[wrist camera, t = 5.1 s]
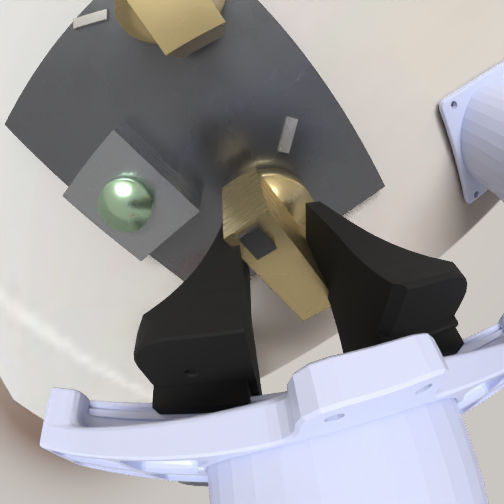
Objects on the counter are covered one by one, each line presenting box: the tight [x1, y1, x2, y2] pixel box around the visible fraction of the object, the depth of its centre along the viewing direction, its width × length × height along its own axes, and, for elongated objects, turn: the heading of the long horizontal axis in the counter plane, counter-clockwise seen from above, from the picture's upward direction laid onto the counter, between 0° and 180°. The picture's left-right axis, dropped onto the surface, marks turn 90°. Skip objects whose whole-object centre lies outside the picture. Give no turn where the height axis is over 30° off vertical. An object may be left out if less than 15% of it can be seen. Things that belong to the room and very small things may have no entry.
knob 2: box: [222, 166, 331, 321], centre depth 12 cm, size 5×4×5 cm
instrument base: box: [5, 0, 385, 281], centre depth 11 cm, size 12×16×3 cm
